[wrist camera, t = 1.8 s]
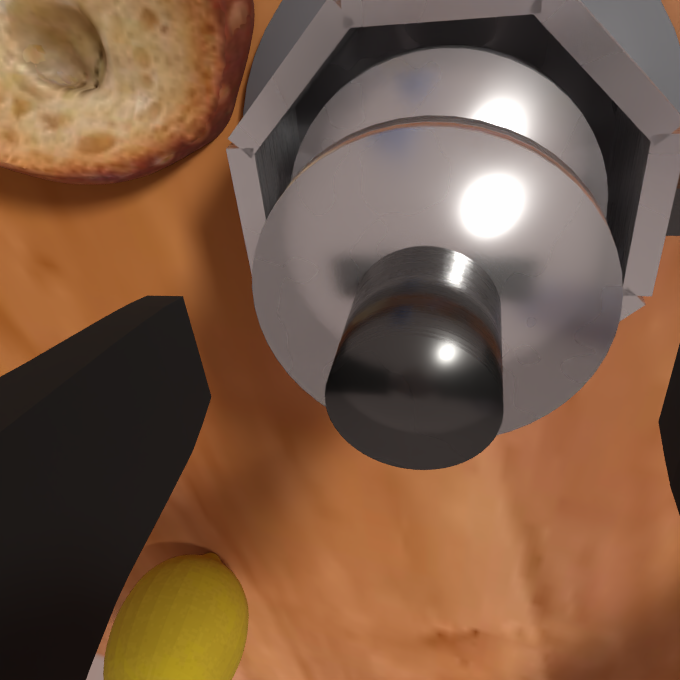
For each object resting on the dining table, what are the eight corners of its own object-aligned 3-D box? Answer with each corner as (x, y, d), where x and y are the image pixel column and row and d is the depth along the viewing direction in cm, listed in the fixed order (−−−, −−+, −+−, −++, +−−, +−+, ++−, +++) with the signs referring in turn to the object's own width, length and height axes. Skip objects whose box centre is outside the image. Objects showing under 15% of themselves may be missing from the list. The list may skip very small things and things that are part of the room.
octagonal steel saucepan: (691, 311, 17) (733, 399, 14) (305, 302, 19) (272, 376, 16) (796, -72, 12) (896, -59, 9) (256, -22, 14) (196, 2, 11)
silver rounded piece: (582, 336, 15) (632, 581, 10) (313, 327, 16) (230, 537, 11) (630, 31, 11) (757, 160, 6) (274, 54, 12) (116, 176, 7)
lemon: (272, 534, 28) (208, 727, 21) (265, 600, 31) (207, 784, 25) (155, 504, 28) (56, 685, 22) (160, 572, 31) (76, 746, 25)
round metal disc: (638, 334, 18) (641, 342, 18) (280, 323, 20) (277, 330, 20) (742, -136, 12) (749, -137, 12) (208, -74, 14) (201, -74, 14)
